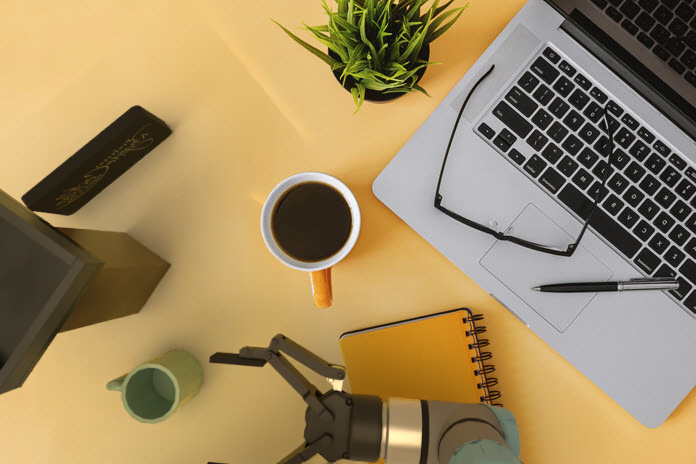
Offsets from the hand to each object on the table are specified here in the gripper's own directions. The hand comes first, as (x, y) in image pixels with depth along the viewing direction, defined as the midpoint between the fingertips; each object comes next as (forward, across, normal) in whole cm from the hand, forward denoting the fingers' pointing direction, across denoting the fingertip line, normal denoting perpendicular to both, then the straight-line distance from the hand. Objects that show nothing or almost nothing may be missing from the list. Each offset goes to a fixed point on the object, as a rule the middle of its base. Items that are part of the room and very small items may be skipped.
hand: (208, 413), depth 59 cm
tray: (+18, +15, +12) cm, 26 cm away
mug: (+11, 0, -14) cm, 18 cm away
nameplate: (+22, +31, -14) cm, 41 cm away
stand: (+18, +15, -14) cm, 28 cm away
